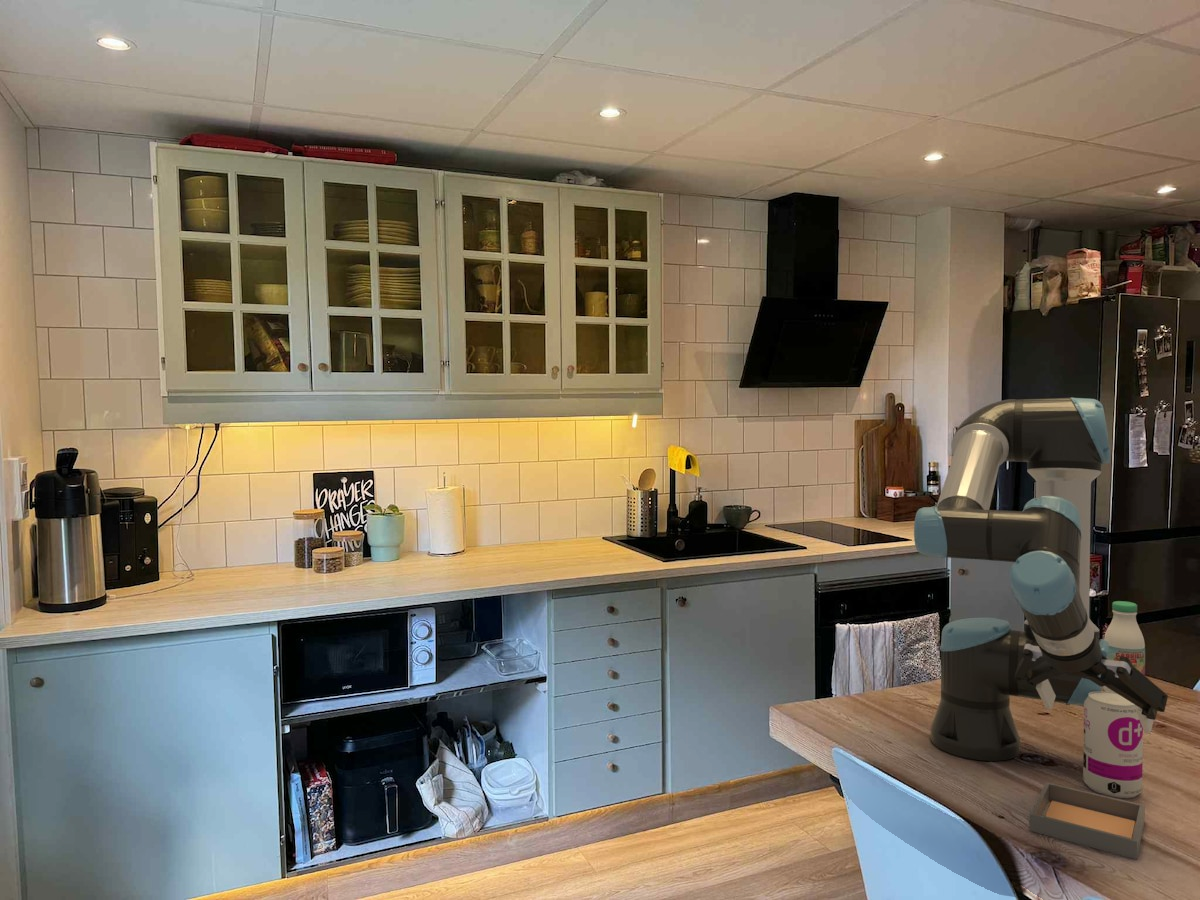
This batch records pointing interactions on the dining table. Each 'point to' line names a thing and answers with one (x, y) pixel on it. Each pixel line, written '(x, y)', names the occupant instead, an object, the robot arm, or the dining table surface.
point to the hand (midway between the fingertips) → (1098, 713)
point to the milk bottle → (1125, 636)
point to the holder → (1089, 819)
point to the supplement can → (1112, 745)
